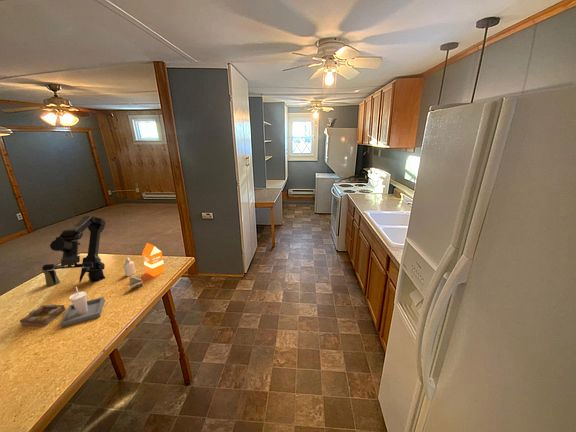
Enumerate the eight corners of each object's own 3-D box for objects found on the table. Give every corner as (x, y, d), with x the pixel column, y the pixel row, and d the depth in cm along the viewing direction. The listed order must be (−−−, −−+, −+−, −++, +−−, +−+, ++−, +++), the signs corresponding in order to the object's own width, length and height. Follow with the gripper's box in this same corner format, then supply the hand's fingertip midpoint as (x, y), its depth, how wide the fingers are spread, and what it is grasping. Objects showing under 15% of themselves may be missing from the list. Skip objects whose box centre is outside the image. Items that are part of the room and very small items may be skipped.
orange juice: (153, 277, 147) (148, 248, 141) (145, 272, 152) (140, 244, 145) (165, 271, 154) (160, 243, 147) (157, 267, 158) (152, 240, 152)
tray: (70, 309, 119) (69, 305, 118) (104, 300, 125) (103, 296, 125) (62, 327, 107) (60, 323, 107) (100, 316, 114) (99, 312, 113)
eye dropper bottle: (125, 273, 150) (121, 257, 147) (135, 271, 154) (132, 254, 150) (125, 276, 147) (121, 259, 143) (136, 274, 150) (132, 257, 146)
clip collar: (44, 309, 118) (42, 303, 117) (65, 310, 118) (63, 303, 117) (21, 325, 108) (19, 319, 107) (45, 325, 108) (42, 319, 107)
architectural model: (144, 287, 138) (141, 276, 135) (130, 292, 133) (127, 281, 131) (142, 284, 140) (139, 274, 138) (128, 290, 135) (126, 278, 133)
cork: (51, 287, 136) (45, 270, 133) (43, 285, 137) (37, 269, 134) (63, 281, 142) (57, 265, 138) (55, 280, 143) (49, 264, 140)
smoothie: (94, 306, 119) (87, 283, 115) (86, 315, 113) (78, 291, 109) (80, 308, 118) (72, 284, 114) (71, 317, 112) (62, 292, 108)
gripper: (41, 251, 110) (37, 285, 107) (92, 249, 122) (90, 280, 118) (46, 254, 119) (42, 286, 115) (93, 252, 130) (92, 281, 126)
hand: (67, 283), depth 119 cm, fingers open, 9 cm apart
